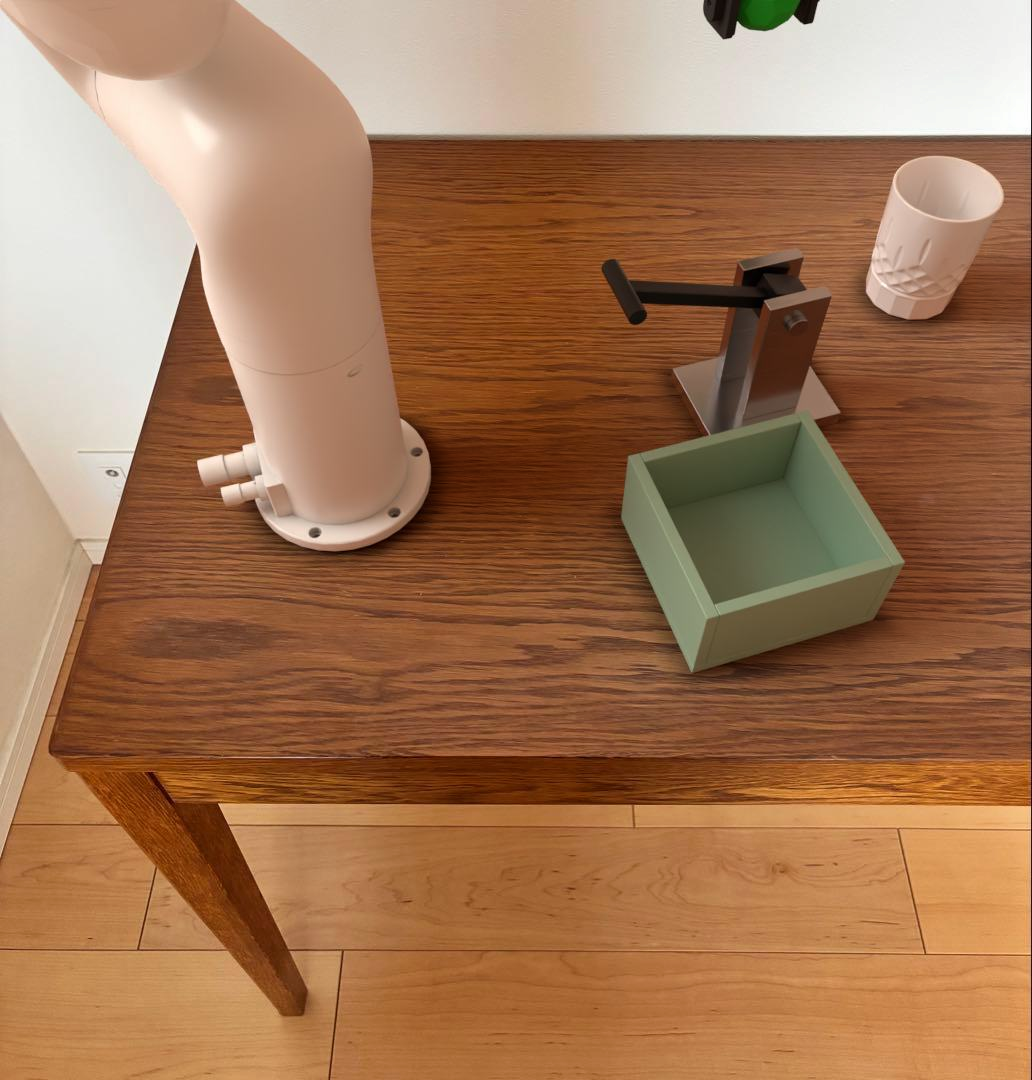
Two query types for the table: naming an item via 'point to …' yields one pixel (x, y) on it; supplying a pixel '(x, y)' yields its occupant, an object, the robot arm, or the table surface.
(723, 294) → the lever
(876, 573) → the bin
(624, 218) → the table surface
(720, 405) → the bracket
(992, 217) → the white cup
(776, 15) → the polyhedron
